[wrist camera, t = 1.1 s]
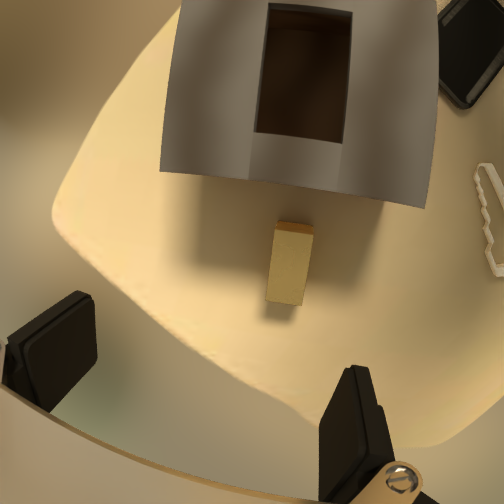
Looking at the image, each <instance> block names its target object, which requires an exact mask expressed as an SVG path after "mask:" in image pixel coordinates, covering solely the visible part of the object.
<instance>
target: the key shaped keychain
mask: <svg viewBox="0 0 504 504" xmlns="http://www.w3.org/2000/svg"><path fill="white" fill-rule="evenodd" d="M479 166H484V168H485V170H486V172H487V174H488V176H489V178H490V180H491V183H492V185H493V187H494V189H495V191H496V193H497V196H498V198H499V200H500V202H501V205H502V207H503V210H504V186H503V184H502V182H501V180H500V178H499V176H498V174H497V172H496V170H495V168H494V166H493V164H492V163H478V164H477V167H476V170H475V173H474V175H473V179H474V181H475V183H476V189H477V191H478V193H479V195H478V197H479V200H480V202H481V204H482V207H481V213H482V215H483V217H484V219H485V224H484V226H483V228H482V229H483V231H484V233H485V235H486V238H487V240H488V242H489V243H488V245H487V247H486V249H485V251H484V252H485V254H486V257H487V259H488V262H489V264H490V267H491V270H492V272H493V274H494V275H495V276H497V277H501V276H504V263H503V264H497V265H496V263H495V261H494V258H493V256H492V254H491V251H490V250H491V247H492V245H493V243H494V239H493V236H492V234H491V232H490V230H489V227H488V226H489V223H490V221H491V219H490V217H489V214H488V212H487V210H486V206H487V202H486V199H485V197H484V195H483V192H484V191H483V189H482V187H481V185H480V180H481V179H480V177H479V175H478V174H477V172H478V169H479Z"/></svg>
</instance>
